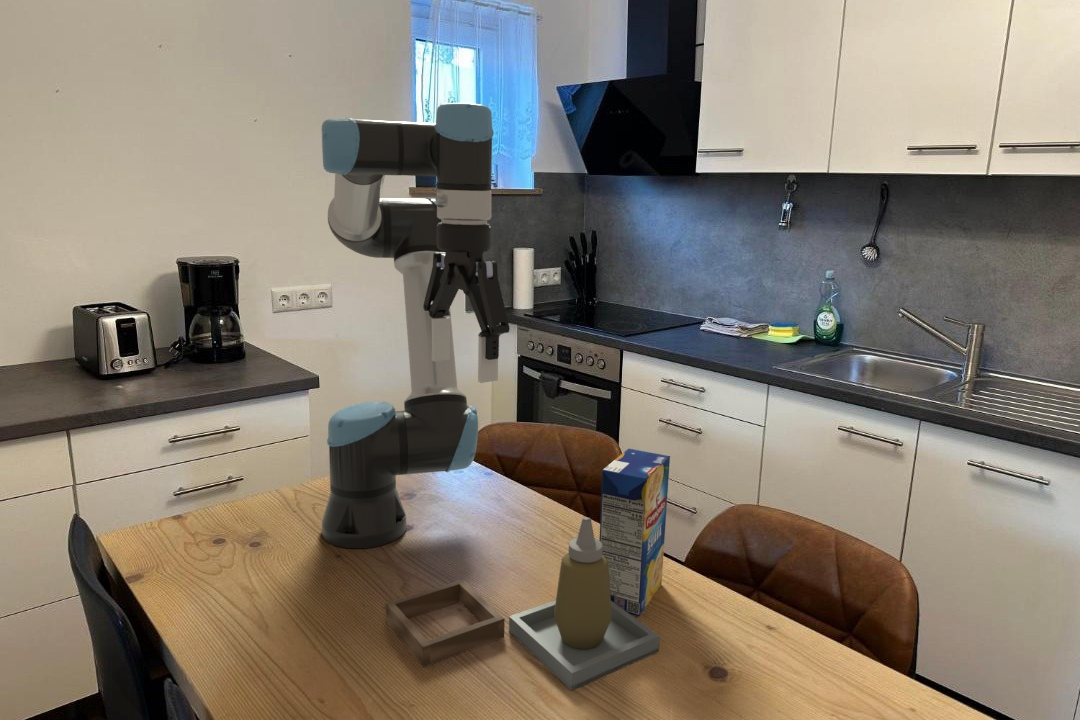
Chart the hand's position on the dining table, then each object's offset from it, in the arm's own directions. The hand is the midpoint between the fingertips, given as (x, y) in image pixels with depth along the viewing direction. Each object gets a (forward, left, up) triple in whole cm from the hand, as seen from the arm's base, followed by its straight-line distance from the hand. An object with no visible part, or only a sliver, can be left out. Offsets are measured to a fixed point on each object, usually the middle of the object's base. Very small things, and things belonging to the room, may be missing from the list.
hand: (463, 370), depth 107 cm
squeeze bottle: (+20, +8, -36) cm, 42 cm away
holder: (+7, -7, -36) cm, 37 cm away
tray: (+20, +8, -36) cm, 42 cm away
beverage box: (+14, +22, -36) cm, 45 cm away
